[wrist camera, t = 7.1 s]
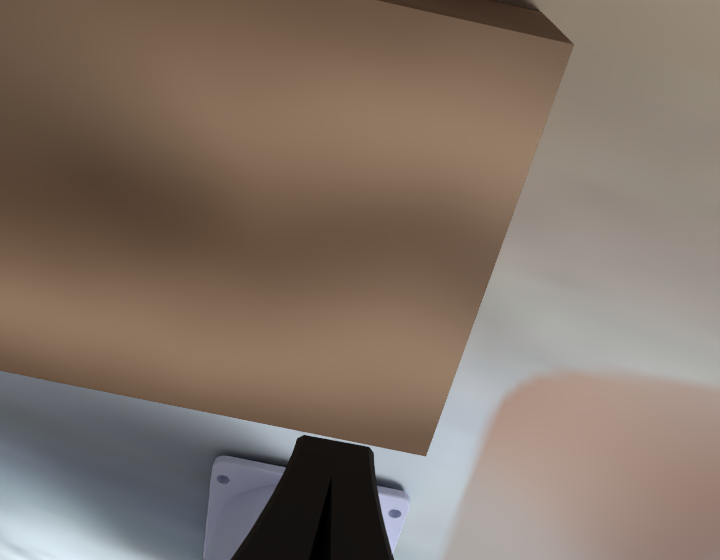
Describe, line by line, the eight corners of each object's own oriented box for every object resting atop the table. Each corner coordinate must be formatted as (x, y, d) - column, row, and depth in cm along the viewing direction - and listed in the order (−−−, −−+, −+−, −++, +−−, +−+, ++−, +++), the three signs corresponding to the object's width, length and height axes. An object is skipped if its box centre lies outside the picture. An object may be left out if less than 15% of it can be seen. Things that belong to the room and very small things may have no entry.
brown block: (425, 370, 22) (426, 456, 19) (57, 295, 22) (-9, 368, 19) (541, 11, 16) (574, 44, 13) (29, -104, 16) (-80, -103, 12)
